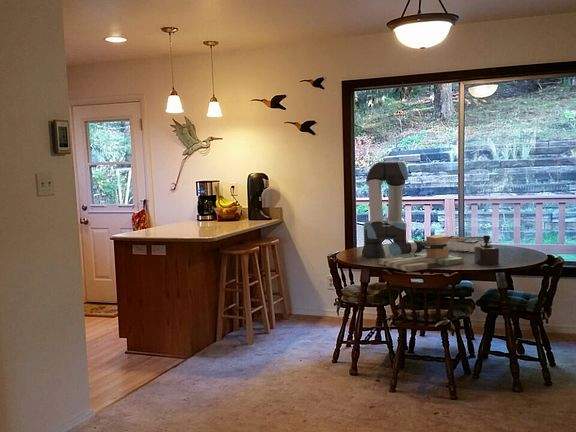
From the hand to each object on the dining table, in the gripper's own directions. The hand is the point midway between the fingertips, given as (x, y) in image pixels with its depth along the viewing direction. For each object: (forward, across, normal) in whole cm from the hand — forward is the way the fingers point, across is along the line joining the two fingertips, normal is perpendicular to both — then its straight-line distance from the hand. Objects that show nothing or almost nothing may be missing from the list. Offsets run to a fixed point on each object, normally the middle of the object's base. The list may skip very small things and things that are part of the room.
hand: (441, 243), depth 335 cm
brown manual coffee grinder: (+12, +25, -11) cm, 30 cm away
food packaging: (+39, -21, -11) cm, 45 cm away
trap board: (-16, 0, -11) cm, 19 cm away
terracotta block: (-3, 0, -8) cm, 8 cm away
